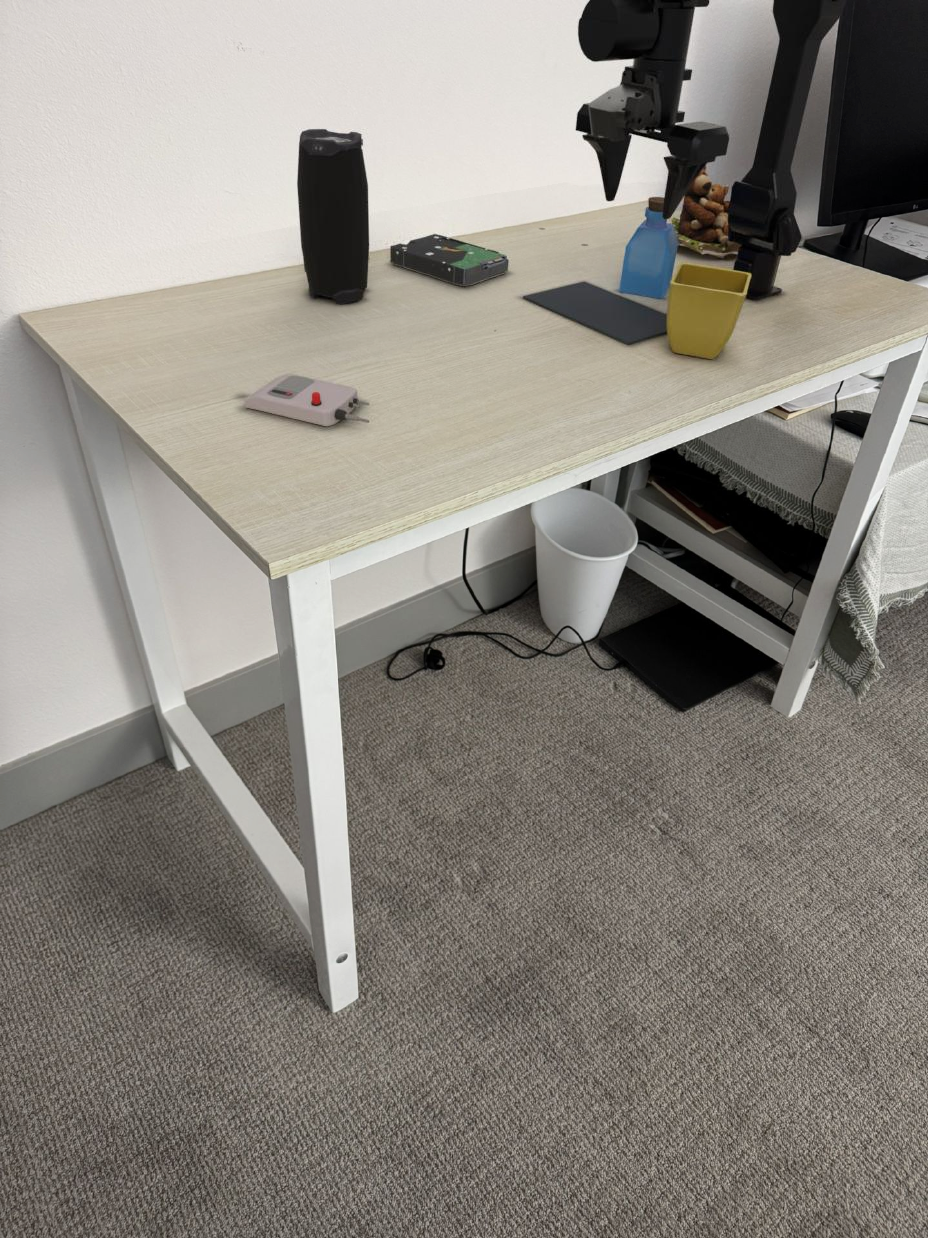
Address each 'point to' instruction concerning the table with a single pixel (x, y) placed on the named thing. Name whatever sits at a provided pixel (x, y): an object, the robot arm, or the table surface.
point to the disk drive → (449, 259)
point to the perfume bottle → (650, 254)
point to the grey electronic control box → (306, 400)
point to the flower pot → (704, 308)
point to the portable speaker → (333, 214)
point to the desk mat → (603, 311)
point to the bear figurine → (705, 219)
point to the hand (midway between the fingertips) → (637, 209)
